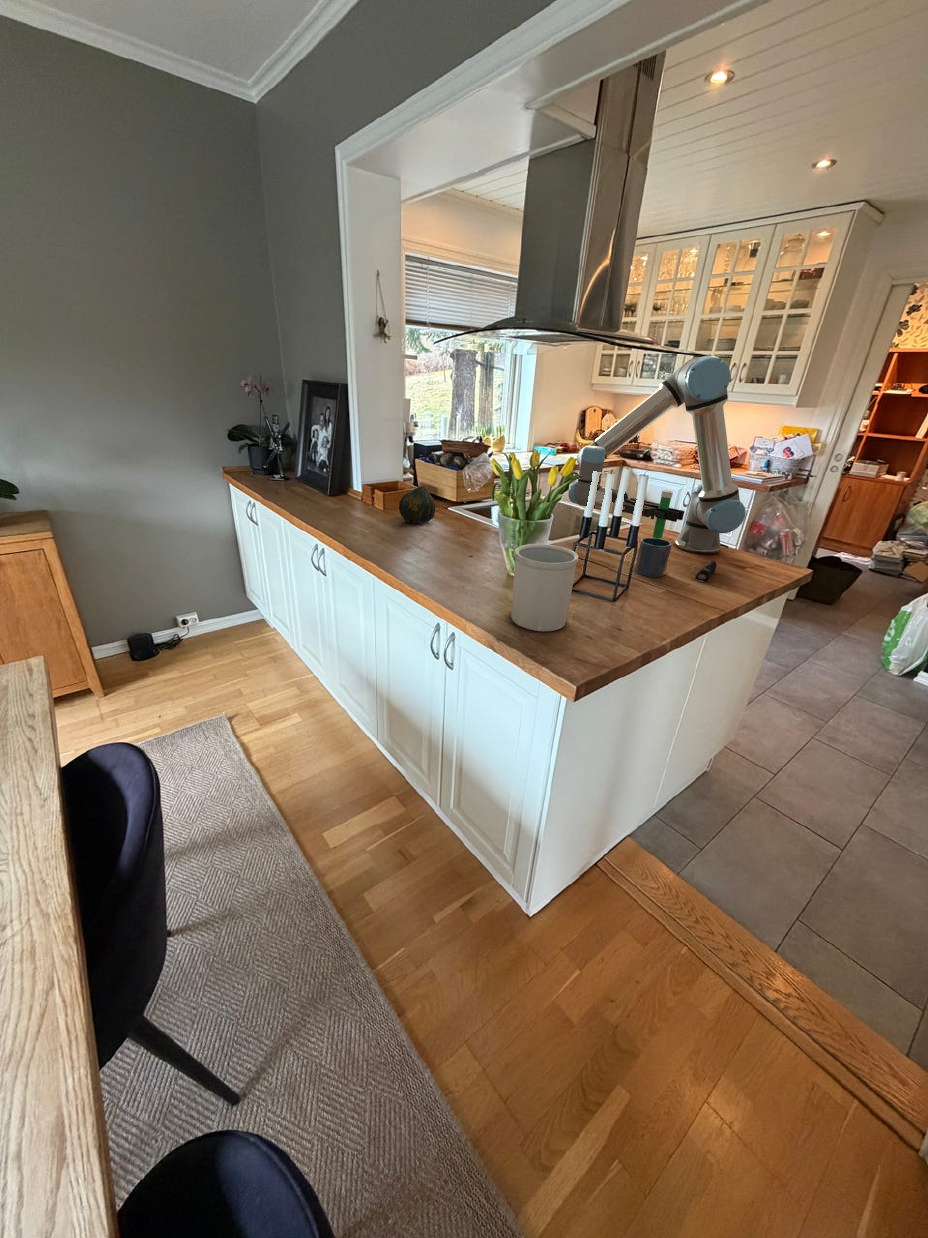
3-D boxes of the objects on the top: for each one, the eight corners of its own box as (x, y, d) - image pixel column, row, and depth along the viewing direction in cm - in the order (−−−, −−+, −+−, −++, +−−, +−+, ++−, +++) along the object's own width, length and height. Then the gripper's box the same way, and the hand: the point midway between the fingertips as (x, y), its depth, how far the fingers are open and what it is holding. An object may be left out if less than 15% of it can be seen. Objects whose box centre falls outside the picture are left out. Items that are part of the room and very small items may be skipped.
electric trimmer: (718, 570, 160) (721, 561, 158) (706, 582, 148) (709, 573, 147) (706, 567, 162) (708, 558, 160) (694, 579, 150) (696, 570, 149)
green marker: (662, 536, 151) (672, 490, 145) (662, 538, 148) (673, 492, 142) (652, 535, 152) (662, 489, 145) (652, 537, 149) (662, 491, 143)
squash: (386, 509, 193) (410, 482, 186) (402, 503, 206) (424, 478, 199) (411, 535, 194) (435, 510, 187) (425, 527, 207) (448, 504, 200)
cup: (663, 569, 158) (670, 539, 153) (665, 578, 150) (672, 547, 146) (635, 565, 160) (641, 536, 156) (634, 574, 152) (641, 544, 148)
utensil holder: (526, 601, 131) (532, 539, 123) (578, 617, 123) (588, 551, 115) (498, 621, 120) (503, 553, 112) (553, 639, 112) (562, 568, 104)
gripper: (622, 508, 165) (689, 524, 149) (595, 515, 155) (663, 533, 140) (626, 486, 161) (695, 500, 146) (599, 491, 152) (669, 507, 136)
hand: (680, 516), depth 143 cm, fingers closed on green marker, 3 cm apart
